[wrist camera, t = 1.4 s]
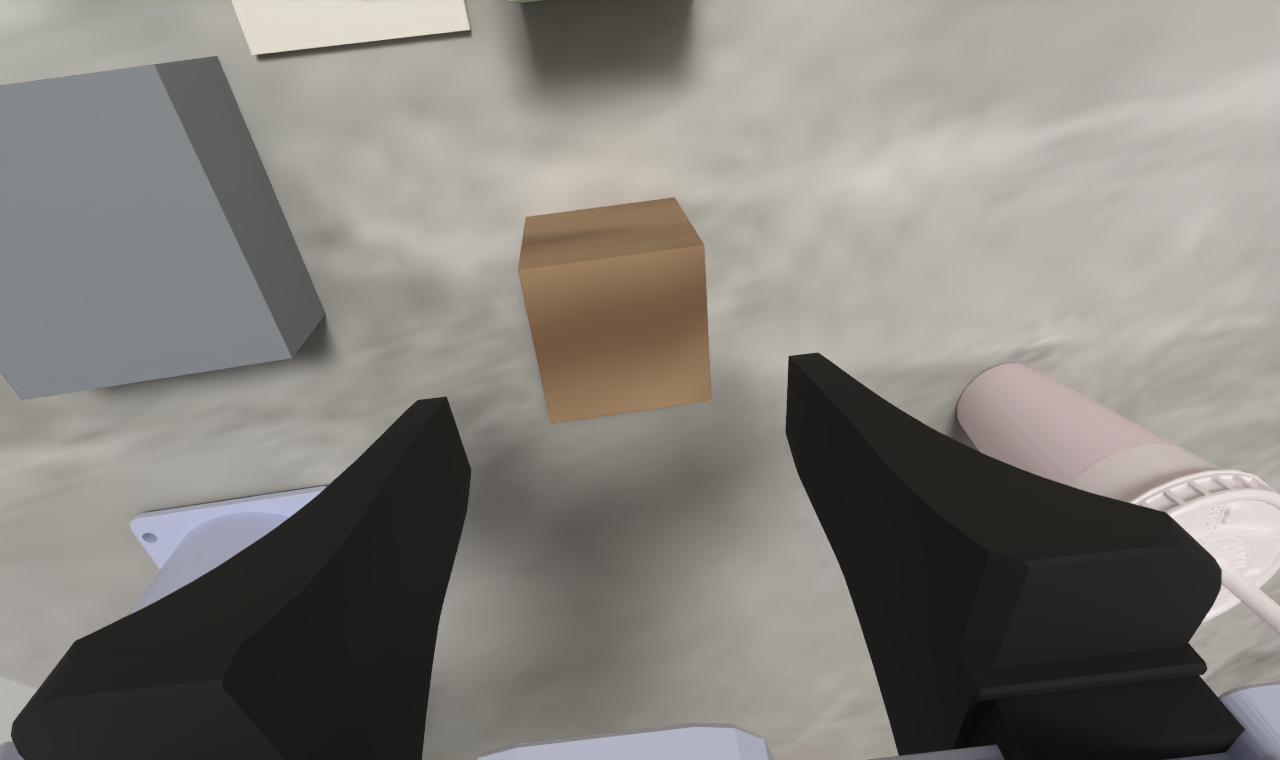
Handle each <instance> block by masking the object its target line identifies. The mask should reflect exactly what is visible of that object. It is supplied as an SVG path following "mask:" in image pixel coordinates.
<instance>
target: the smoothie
mask: <svg viewBox="0 0 1280 760" xmlns="http://www.w3.org/2000/svg"><path fill="white" fill-rule="evenodd" d="M957 418H958V421H959V423H960V425H961V426H962V428H963V429H964V430H965V432H966V433H967V435H968V436H969V438H970V439H971V440H972V442H973V443H974V445H975V446H976V447H977V449H978V450H979V452H981V453H983V454H985V455H988V456H990V457H992V458H995V459H997V460H1000V461H1002V462H1005V463H1007V464H1010V465H1012V466H1015V467H1017V468H1019V469H1022V470H1025V471H1027V472H1030V473H1033V474H1036V475H1038V476H1041V477H1044V478H1047V479H1050V480H1053V481H1056V482H1059V483H1062V484H1065V485H1068V486H1071V487H1075V488H1078V489H1081V490H1084V491H1087V492H1090V493H1094V494H1097V495H1101V496H1105V497H1109V498H1113V499H1117V500H1120V501H1124V502H1128V503H1132V504H1136V505H1140V506H1144V507H1148V508H1151V509H1155V510H1159V511H1163V512H1166V513H1167V514H1168V515H1170V516H1171V517H1172V518H1173V519H1174V520H1175V521H1176V522H1177V523H1178V524H1179V525H1180V526H1181V527H1182V528H1183V529H1185V530H1186V531H1187V532H1188V533H1189V534H1190V535H1191V536H1192V537H1193V538H1194V539H1195V540H1196V541H1197V542H1198V543H1199V544H1200V545H1201V546H1202V547H1204V548H1205V549H1206V550H1207V551H1208V552H1209V553H1210V554H1211V555H1212V556H1213V557H1214V558H1215V559H1216V561H1217V563H1218V564H1219V566H1220V568H1221V569H1222V585H1221V589H1220V592H1219V594H1218V596H1217V598H1216V600H1215V602H1214V605H1213V606H1212V608H1211V609H1210V611H1209V612H1208V614H1207V615H1206V617H1205V618H1204V620H1203V621H1202V623H1203V622H1206V621H1208V620H1210V619H1212V618H1214V617H1216V616H1218V615H1220V614H1222V613H1224V612H1226V611H1227V610H1229V609H1231V608H1232V607H1234V606H1235V605H1237V604H1239V603H1240V602H1243V603H1244V604H1245V605H1246V606H1248V607H1249V608H1250V609H1251V610H1252V611H1253V612H1254V613H1256V614H1257V615H1258V616H1259V617H1260V618H1261V619H1263V620H1264V621H1265V622H1266V623H1267V624H1268V625H1270V626H1271V627H1272V628H1273V629H1274V630H1275V631H1277V632H1278V633H1279V634H1280V606H1279V605H1278V604H1277V603H1276V602H1274V601H1273V600H1272V599H1271V598H1269V597H1268V596H1267V595H1266V594H1265V593H1263V592H1262V591H1261V590H1260V589H1259V588H1260V587H1261V586H1262V585H1263V584H1264V583H1266V582H1267V581H1268V580H1269V579H1270V578H1271V577H1272V576H1273V575H1274V574H1275V573H1276V571H1277V570H1278V569H1279V568H1280V494H1279V493H1278V492H1276V491H1275V490H1273V489H1272V488H1270V487H1269V485H1268V484H1266V483H1265V482H1264V481H1262V480H1261V479H1260V478H1258V477H1257V476H1256V475H1254V474H1251V473H1247V472H1242V471H1238V470H1234V469H1224V470H1222V469H1220V468H1218V467H1216V466H1214V465H1213V464H1211V463H1209V462H1207V461H1205V460H1204V459H1202V458H1200V457H1198V456H1196V455H1195V454H1193V453H1191V452H1189V451H1187V450H1186V449H1184V448H1182V447H1179V446H1177V445H1175V444H1174V443H1172V442H1170V441H1168V440H1166V439H1164V438H1162V437H1160V436H1159V435H1157V434H1155V433H1153V432H1151V431H1149V430H1147V429H1145V428H1144V427H1142V426H1140V425H1138V424H1136V423H1134V422H1132V421H1130V420H1129V419H1127V418H1125V417H1123V416H1121V415H1119V414H1117V413H1116V412H1114V411H1112V410H1110V409H1108V408H1106V407H1104V406H1102V405H1101V404H1099V403H1097V402H1095V401H1093V400H1091V399H1089V398H1087V397H1086V396H1084V395H1082V394H1080V393H1078V392H1076V391H1074V390H1072V389H1071V388H1069V387H1067V386H1065V385H1063V384H1061V383H1059V382H1057V381H1056V380H1054V379H1052V378H1050V377H1048V376H1046V375H1044V374H1043V373H1041V372H1039V371H1037V370H1035V369H1033V368H1031V367H1029V366H1027V365H1025V364H1021V363H1006V364H1001V365H998V366H995V367H993V368H991V369H988V370H987V371H985V372H983V373H982V374H980V375H979V376H978V377H976V378H975V379H974V380H973V381H972V382H971V383H970V384H969V385H968V386H967V387H966V389H965V390H964V392H963V393H962V395H961V397H960V399H959V402H958V405H957Z"/></svg>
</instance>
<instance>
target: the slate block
mask: <svg viewBox="0 0 1280 760" xmlns="http://www.w3.org/2000/svg"><path fill="white" fill-rule="evenodd" d="M324 316H325V312H324V309H323V307H322V305H321V302H320V300H319V297H318V295H317V293H316V290H315V288H314V286H313V283H312V281H311V278H310V276H309V274H308V271H307V269H306V267H305V264H304V262H303V259H302V257H301V255H300V252H299V250H298V247H297V245H296V243H295V240H294V238H293V236H292V233H291V231H290V228H289V226H288V224H287V221H286V219H285V216H284V214H283V212H282V209H281V207H280V205H279V202H278V200H277V197H276V195H275V193H274V190H273V188H272V185H271V183H270V181H269V178H268V176H267V174H266V171H265V169H264V166H263V164H262V162H261V159H260V157H259V154H258V152H257V150H256V147H255V145H254V143H253V140H252V138H251V135H250V133H249V131H248V128H247V126H246V124H245V121H244V119H243V116H242V114H241V112H240V109H239V107H238V104H237V102H236V100H235V97H234V95H233V93H232V90H231V88H230V85H229V83H228V81H227V78H226V76H225V73H224V71H223V69H222V66H221V64H220V62H219V59H218V57H217V56H214V57H207V58H199V59H192V60H185V61H177V62H170V63H162V64H155V65H148V66H140V67H133V68H125V69H118V70H111V71H103V72H96V73H89V74H81V75H74V76H66V77H59V78H52V79H44V80H37V81H29V82H22V83H15V84H7V85H0V373H1V374H2V376H3V377H4V378H5V380H6V381H7V382H8V384H9V385H10V386H11V387H12V389H13V390H14V391H15V393H16V394H17V395H18V397H19V398H20V399H21V400H26V399H32V398H39V397H45V396H51V395H58V394H64V393H71V392H77V391H84V390H90V389H97V388H103V387H110V386H116V385H123V384H129V383H135V382H142V381H148V380H155V379H161V378H168V377H174V376H181V375H187V374H194V373H200V372H206V371H213V370H219V369H226V368H232V367H239V366H245V365H252V364H258V363H265V362H271V361H277V360H284V359H290V358H293V357H294V355H295V354H296V353H297V351H298V350H299V349H300V347H301V346H302V345H303V343H304V342H305V341H306V339H307V338H308V337H309V335H310V334H311V333H312V331H313V330H314V329H315V328H316V326H317V325H318V324H319V322H320V321H321V320H322V318H323V317H324Z"/></svg>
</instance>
